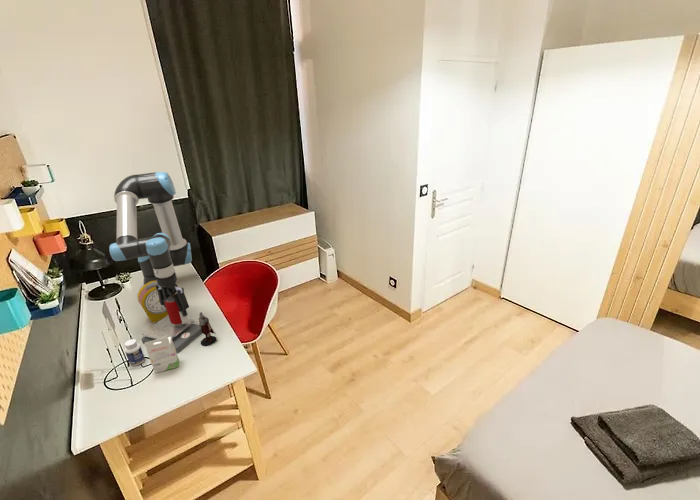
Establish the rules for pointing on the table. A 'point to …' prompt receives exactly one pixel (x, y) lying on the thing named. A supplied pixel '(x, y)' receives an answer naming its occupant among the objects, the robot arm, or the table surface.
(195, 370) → the table surface
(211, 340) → the figurine
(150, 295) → the alarm clock
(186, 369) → the table surface
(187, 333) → the scale
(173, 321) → the beverage can
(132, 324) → the table surface
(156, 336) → the silver square platform
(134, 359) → the pill bottle
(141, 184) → the robot arm
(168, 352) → the ink box
